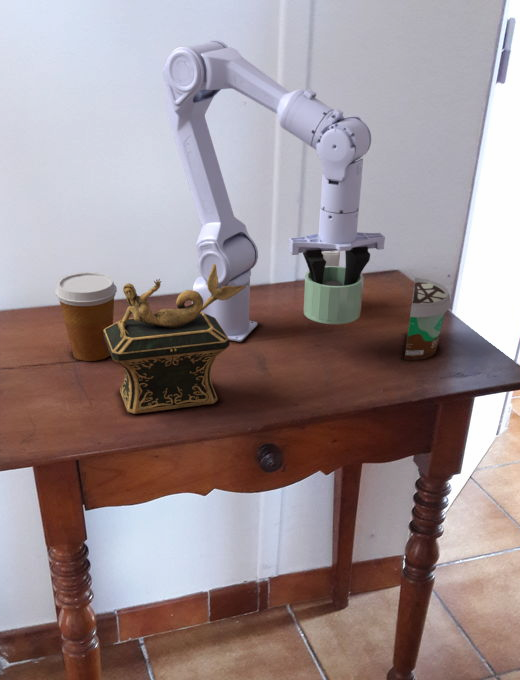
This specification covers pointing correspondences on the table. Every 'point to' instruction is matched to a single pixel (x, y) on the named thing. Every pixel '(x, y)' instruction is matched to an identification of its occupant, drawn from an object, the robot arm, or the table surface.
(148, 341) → the decorative box
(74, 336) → the disposable coffee cup
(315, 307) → the cup
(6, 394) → the table surface
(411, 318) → the food container
